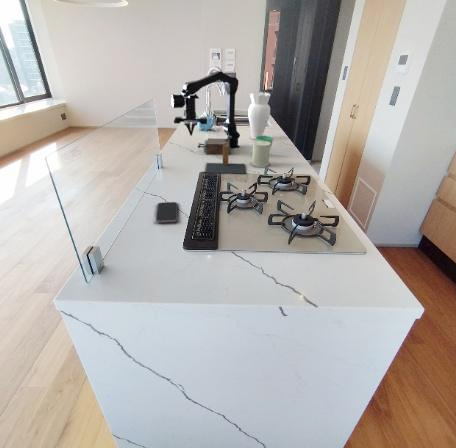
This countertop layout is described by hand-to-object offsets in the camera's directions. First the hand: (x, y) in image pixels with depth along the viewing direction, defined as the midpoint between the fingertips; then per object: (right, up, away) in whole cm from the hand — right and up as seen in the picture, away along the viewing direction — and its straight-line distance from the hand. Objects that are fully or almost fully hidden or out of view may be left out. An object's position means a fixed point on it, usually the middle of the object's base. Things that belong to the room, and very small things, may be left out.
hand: (191, 135), depth 168 cm
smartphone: (-3, -49, -62) cm, 79 cm away
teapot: (+6, +21, +53) cm, 57 cm away
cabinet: (+16, -8, +5) cm, 19 cm away
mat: (+20, -24, -21) cm, 37 cm away
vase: (+43, +8, +33) cm, 55 cm away
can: (+39, -20, -14) cm, 46 cm away
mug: (+43, -10, +2) cm, 44 cm away
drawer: (+12, -7, +4) cm, 15 cm away
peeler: (+20, -20, -16) cm, 33 cm away
